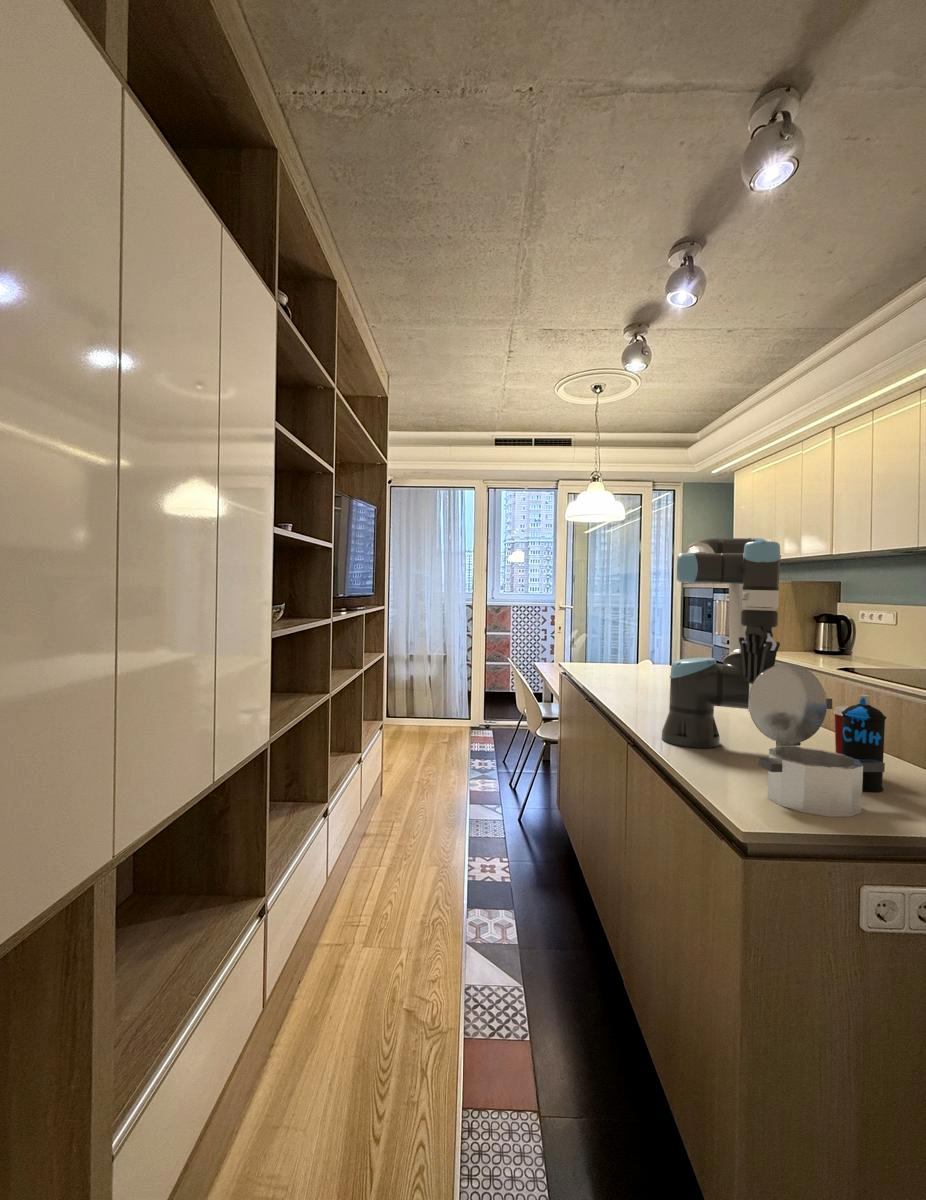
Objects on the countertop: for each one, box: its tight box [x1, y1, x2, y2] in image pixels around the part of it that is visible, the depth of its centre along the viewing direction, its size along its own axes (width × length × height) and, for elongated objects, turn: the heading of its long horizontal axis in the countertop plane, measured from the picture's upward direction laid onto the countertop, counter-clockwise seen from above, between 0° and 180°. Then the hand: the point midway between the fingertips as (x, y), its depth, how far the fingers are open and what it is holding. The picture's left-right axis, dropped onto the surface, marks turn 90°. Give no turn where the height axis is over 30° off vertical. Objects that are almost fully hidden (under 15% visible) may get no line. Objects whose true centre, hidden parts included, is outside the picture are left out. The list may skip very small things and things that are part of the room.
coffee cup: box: [832, 705, 851, 754], centre depth 144 cm, size 8×8×15 cm
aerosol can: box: [841, 694, 887, 793], centre depth 133 cm, size 8×8×20 cm
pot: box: [758, 744, 886, 818], centre depth 122 cm, size 18×24×9 cm
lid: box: [748, 663, 833, 747], centre depth 131 cm, size 17×19×3 cm
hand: (755, 711), depth 139 cm, fingers closed
